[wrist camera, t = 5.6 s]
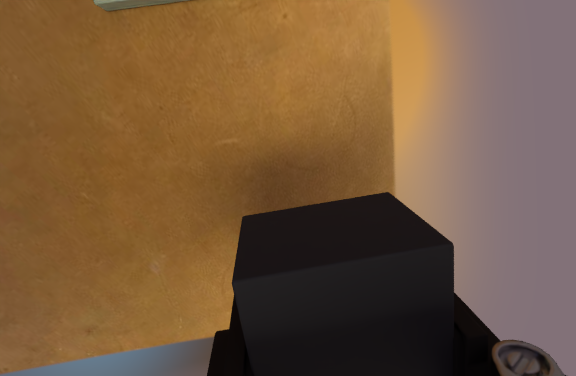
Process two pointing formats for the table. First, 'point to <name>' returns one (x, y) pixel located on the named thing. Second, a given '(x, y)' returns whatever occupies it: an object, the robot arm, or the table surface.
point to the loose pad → (345, 291)
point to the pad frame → (129, 3)
